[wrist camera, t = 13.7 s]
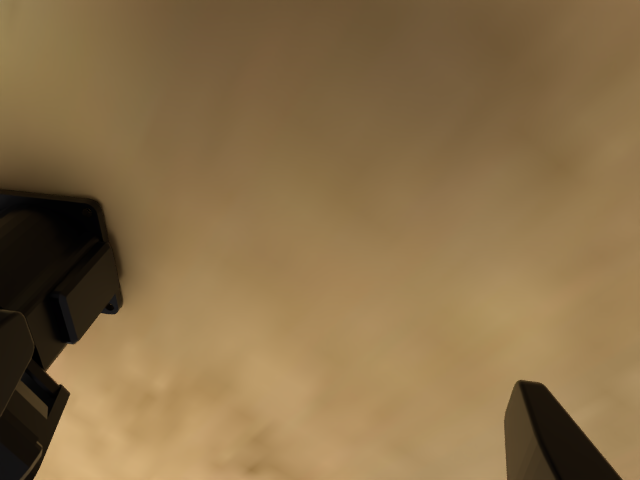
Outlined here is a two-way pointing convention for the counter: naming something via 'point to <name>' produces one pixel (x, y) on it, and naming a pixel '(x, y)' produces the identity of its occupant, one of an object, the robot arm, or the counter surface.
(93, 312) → the robot arm
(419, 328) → the counter surface
